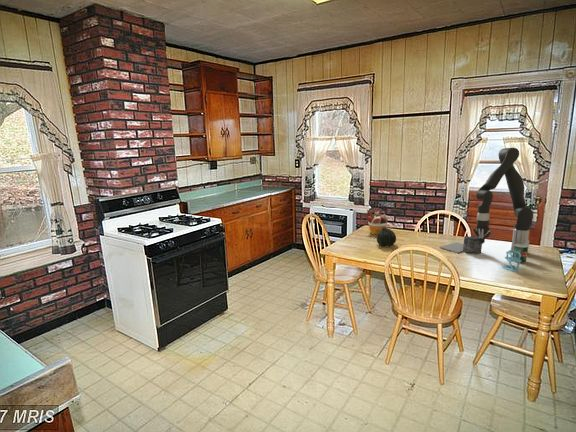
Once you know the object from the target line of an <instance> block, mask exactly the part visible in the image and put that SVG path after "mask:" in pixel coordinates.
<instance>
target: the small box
mask: <svg viewBox="0 0 576 432" xmlns="http://www.w3.org/2000/svg"><path fill="white" fill-rule="evenodd" d="M463 244H464V245H463V250H464V252H465V253H471V254H472V253H473V254H482V248H483V244H482V243H480V238H479V237H477V236H470V235H469V236H465V235H464V237H463Z"/></svg>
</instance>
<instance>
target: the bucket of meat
mask: <svg viewBox="0 0 576 432" xmlns="http://www.w3.org/2000/svg"><path fill="white" fill-rule="evenodd" d="M365 216H366V219H365V220H366V221H367V223H368V227H369V228H368V229H369V233H371V234H372V235H376V236H377V234H378V233H379V231H380V230H381V229H382V228H383V227H384V228H387V224H388V221H389V216H388V215H386V214H385V213H384V214H382V213H380V211H377V212H374V215H373V214H372V212H371V211H370V210H369V209H367V210H366V213H365Z"/></svg>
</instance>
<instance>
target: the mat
mask: <svg viewBox="0 0 576 432" xmlns="http://www.w3.org/2000/svg"><path fill="white" fill-rule="evenodd" d="M463 245H464V243H460V242H456V241H455V242H452V243H449V244H444V245H442V246H439V249H441V250H445V251H448V252H452V253H454V254H461V253H464V252H465V251H464V250H463Z"/></svg>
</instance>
